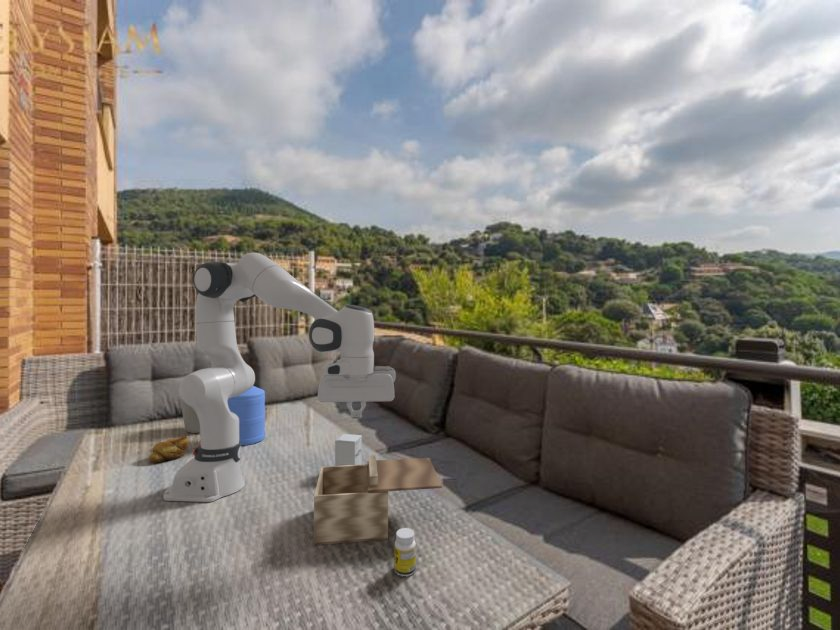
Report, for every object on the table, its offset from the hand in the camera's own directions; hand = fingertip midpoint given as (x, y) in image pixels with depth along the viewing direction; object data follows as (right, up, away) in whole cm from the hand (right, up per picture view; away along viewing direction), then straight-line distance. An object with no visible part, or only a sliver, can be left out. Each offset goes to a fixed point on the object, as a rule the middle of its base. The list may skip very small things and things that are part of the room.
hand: (356, 417), depth 106 cm
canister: (-84, -26, +78) cm, 118 cm away
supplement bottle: (+14, -29, -19) cm, 37 cm away
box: (-1, -28, 0) cm, 28 cm away
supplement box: (-8, -28, +32) cm, 43 cm away
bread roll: (-79, -27, +44) cm, 94 cm away
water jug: (-58, -27, +65) cm, 91 cm away
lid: (+12, -16, +2) cm, 20 cm away
